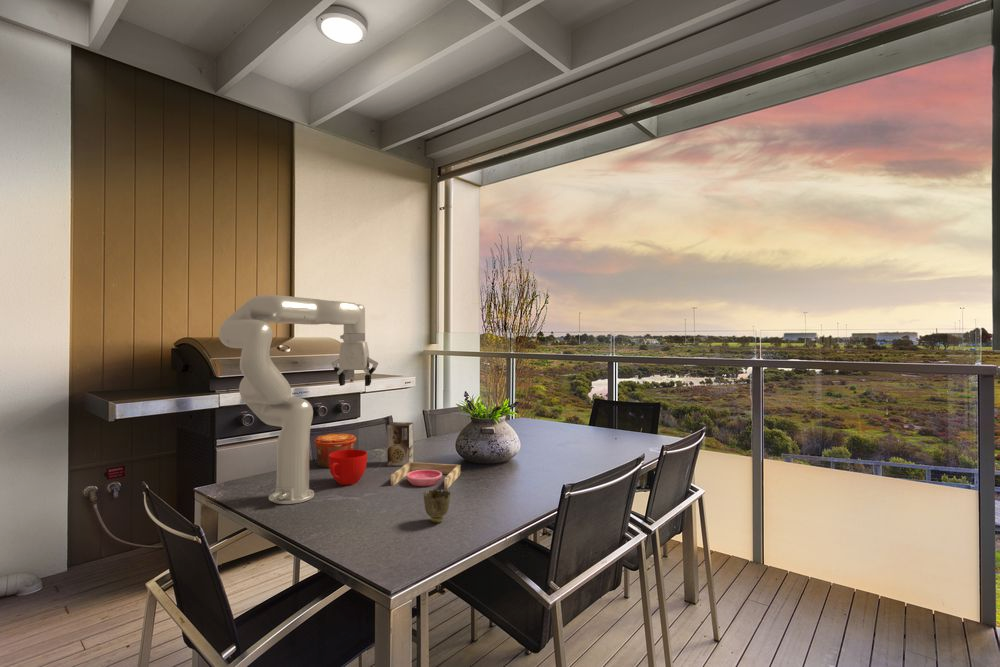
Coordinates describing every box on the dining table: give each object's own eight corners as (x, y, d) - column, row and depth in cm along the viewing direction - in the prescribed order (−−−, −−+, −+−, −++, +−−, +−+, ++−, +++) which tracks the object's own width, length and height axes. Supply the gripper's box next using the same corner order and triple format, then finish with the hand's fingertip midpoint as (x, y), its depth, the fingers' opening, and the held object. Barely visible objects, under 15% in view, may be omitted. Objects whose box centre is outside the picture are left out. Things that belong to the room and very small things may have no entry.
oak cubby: (447, 489, 171) (447, 478, 171) (390, 485, 174) (390, 475, 174) (460, 474, 189) (460, 464, 189) (408, 471, 192) (408, 461, 192)
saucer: (399, 482, 179) (399, 473, 179) (428, 475, 187) (428, 467, 187) (420, 490, 170) (420, 481, 170) (449, 483, 178) (449, 474, 178)
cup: (437, 514, 147) (437, 486, 147) (455, 520, 143) (455, 492, 142) (417, 521, 141) (418, 493, 141) (436, 528, 137) (436, 498, 137)
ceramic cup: (313, 489, 169) (314, 459, 169) (341, 475, 185) (341, 448, 185) (349, 493, 166) (349, 462, 166) (373, 478, 182) (374, 450, 182)
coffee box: (413, 462, 205) (414, 422, 205) (409, 466, 199) (409, 425, 199) (391, 461, 206) (392, 421, 206) (386, 465, 200) (386, 424, 200)
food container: (346, 457, 213) (346, 431, 213) (362, 465, 200) (363, 437, 200) (307, 463, 203) (308, 436, 203) (322, 471, 190) (322, 443, 190)
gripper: (327, 338, 182) (327, 386, 182) (373, 338, 180) (373, 387, 180) (336, 338, 189) (336, 383, 190) (381, 338, 187) (381, 384, 188)
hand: (354, 385), depth 185 cm, fingers open, 9 cm apart
